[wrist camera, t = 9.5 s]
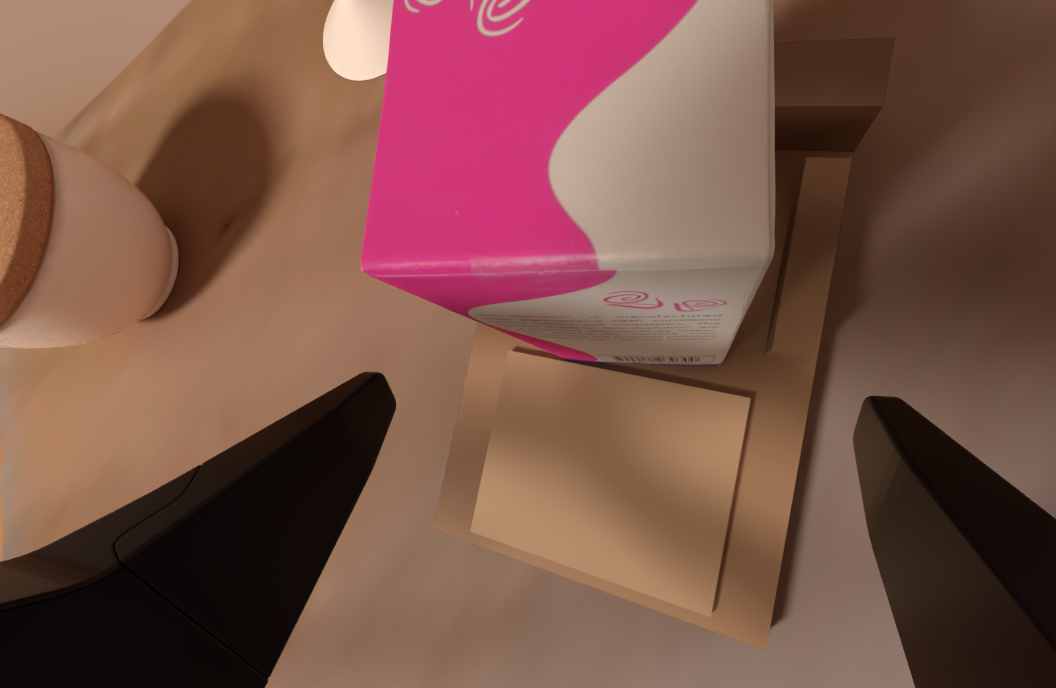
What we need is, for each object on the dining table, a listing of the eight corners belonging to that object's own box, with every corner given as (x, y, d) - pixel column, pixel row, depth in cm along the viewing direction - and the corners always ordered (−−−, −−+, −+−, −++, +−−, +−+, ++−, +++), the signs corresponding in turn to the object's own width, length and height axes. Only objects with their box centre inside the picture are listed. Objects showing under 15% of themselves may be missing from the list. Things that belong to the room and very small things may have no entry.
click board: (761, 635, 15) (780, 698, 12) (445, 522, 19) (395, 546, 16) (853, 111, 16) (894, 37, 13) (533, 111, 20) (503, 55, 17)
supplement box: (728, 199, 16) (796, -197, 6) (723, 369, 16) (789, 291, 5) (566, 210, 18) (386, -68, 7) (557, 361, 18) (345, 294, 7)
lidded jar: (218, 327, 25) (-36, 286, 16) (90, 381, 28) (-182, 372, 19) (198, 156, 27) (-34, 39, 19) (82, 224, 31) (-165, 151, 22)
